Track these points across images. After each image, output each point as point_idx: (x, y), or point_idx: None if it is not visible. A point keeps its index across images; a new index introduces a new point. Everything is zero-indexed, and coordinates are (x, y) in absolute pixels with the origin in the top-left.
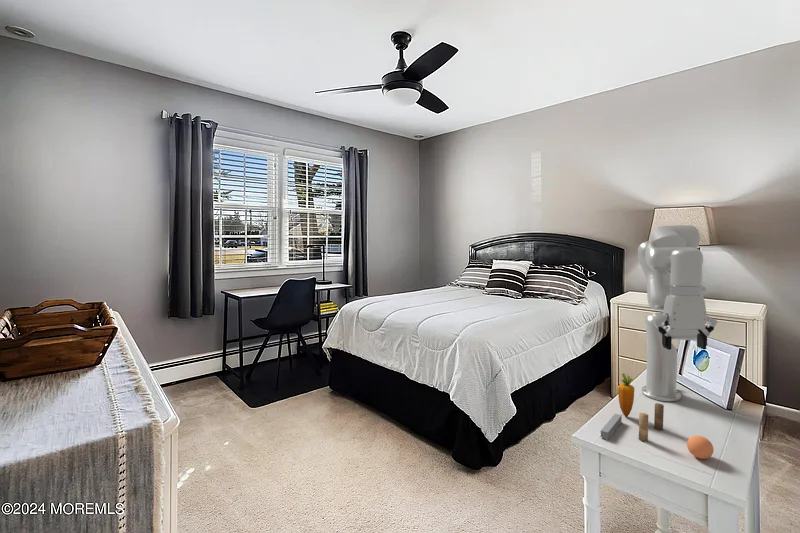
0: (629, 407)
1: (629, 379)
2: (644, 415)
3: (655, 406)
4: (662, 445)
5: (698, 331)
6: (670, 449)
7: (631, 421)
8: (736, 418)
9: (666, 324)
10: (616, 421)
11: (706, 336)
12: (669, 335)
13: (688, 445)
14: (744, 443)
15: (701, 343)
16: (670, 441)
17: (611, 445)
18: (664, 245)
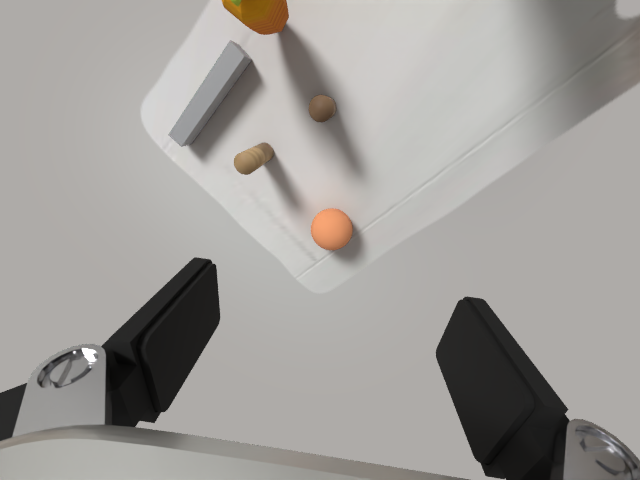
0: (270, 33)
1: None
2: (245, 166)
3: (309, 108)
4: (291, 177)
5: (562, 455)
6: (298, 192)
7: (281, 56)
8: (584, 75)
9: (25, 466)
10: (217, 94)
11: (501, 476)
12: (144, 412)
13: (311, 226)
14: (458, 193)
15: (457, 370)
16: (316, 165)
17: (193, 164)
18: None
